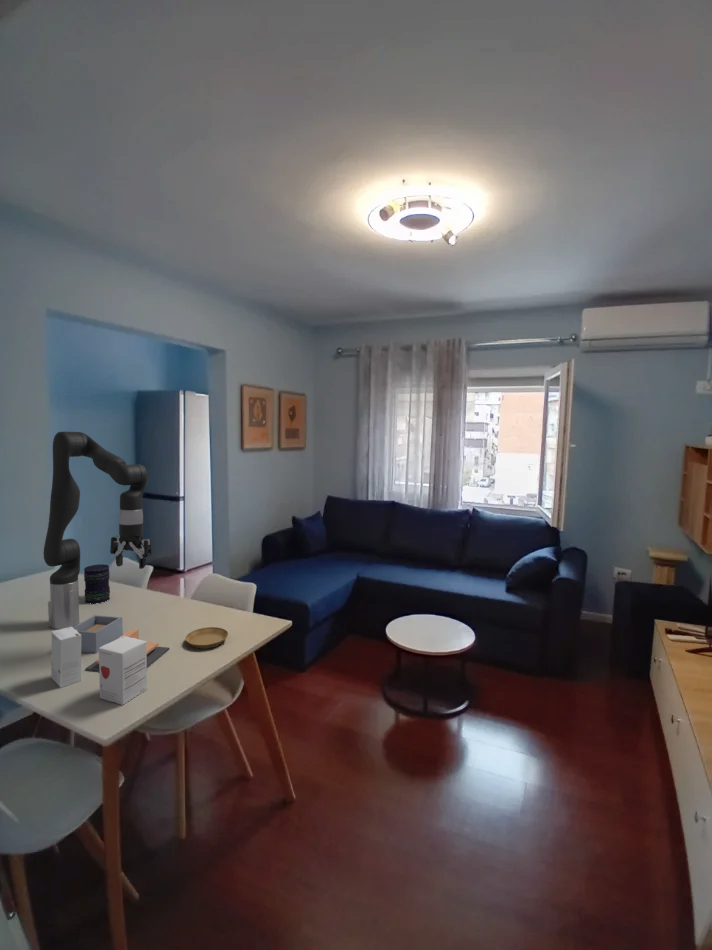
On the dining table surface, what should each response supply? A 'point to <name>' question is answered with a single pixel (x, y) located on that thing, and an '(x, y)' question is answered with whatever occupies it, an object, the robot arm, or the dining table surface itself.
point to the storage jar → (96, 583)
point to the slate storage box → (99, 632)
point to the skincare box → (66, 656)
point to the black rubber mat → (151, 658)
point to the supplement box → (123, 669)
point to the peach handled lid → (135, 634)
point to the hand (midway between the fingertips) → (130, 567)
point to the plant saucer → (206, 637)
